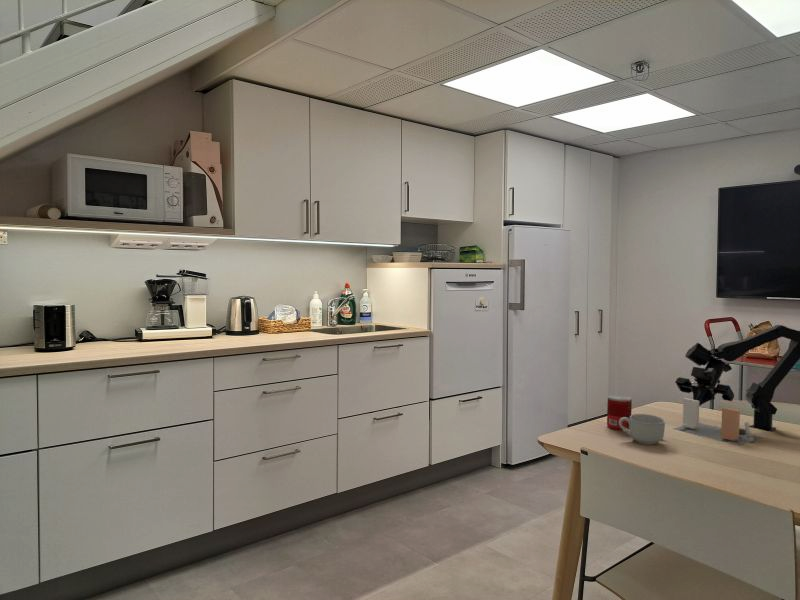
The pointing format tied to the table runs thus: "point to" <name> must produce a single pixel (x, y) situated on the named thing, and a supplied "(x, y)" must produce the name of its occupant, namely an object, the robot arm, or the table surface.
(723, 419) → the tan rectangular block
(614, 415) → the canned food
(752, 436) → the panel
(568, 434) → the table surface
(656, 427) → the teacup
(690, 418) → the cream paddle
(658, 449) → the table surface
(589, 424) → the table surface
